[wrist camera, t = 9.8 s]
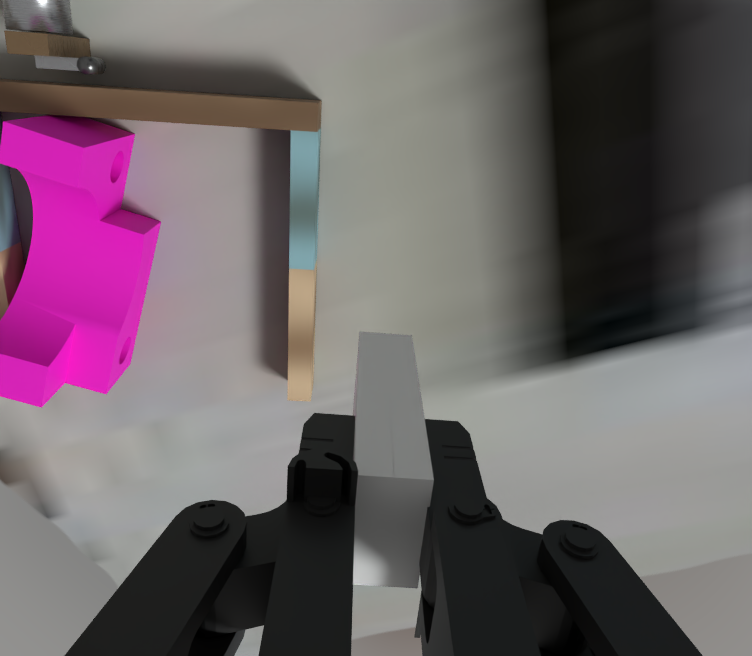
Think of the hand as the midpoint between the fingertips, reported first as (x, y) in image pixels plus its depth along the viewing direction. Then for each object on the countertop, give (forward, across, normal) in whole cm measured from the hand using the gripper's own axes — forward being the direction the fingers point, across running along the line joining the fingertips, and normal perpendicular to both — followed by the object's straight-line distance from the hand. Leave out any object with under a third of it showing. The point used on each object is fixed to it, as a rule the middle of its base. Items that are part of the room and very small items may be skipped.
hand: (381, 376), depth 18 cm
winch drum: (+22, -18, +10) cm, 30 cm away
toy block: (+23, -17, -4) cm, 28 cm away
